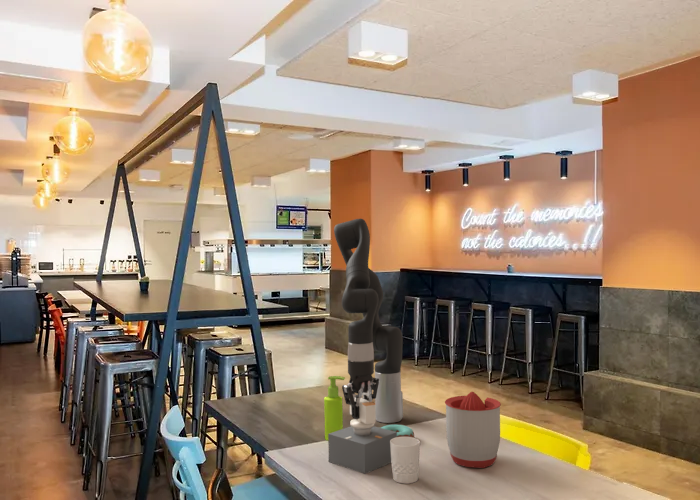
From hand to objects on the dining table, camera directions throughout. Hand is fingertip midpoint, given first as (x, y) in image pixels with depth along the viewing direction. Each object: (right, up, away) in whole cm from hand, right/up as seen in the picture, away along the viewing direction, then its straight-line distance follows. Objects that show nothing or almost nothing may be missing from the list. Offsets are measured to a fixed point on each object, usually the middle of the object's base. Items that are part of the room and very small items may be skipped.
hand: (361, 416), depth 169 cm
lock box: (0, -13, 0) cm, 13 cm away
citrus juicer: (+32, -12, -2) cm, 35 cm away
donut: (+11, -13, +17) cm, 24 cm away
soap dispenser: (-8, -13, +20) cm, 25 cm away
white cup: (+11, -13, -14) cm, 22 cm away
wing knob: (0, -2, -1) cm, 2 cm away
